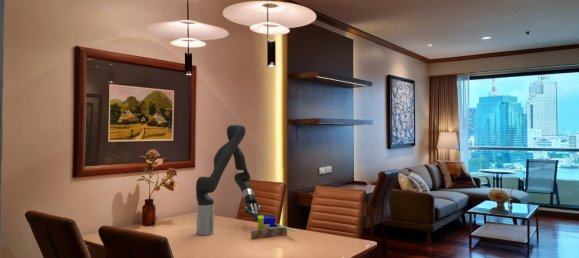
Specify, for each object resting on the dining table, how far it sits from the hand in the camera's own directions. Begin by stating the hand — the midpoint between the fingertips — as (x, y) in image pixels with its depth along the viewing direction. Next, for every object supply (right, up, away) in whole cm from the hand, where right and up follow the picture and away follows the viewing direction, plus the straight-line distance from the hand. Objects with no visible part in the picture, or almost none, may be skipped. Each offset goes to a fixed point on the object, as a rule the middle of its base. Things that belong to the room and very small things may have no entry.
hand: (256, 219), depth 253 cm
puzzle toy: (+6, -6, -10) cm, 13 cm away
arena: (+8, -6, -16) cm, 18 cm away
